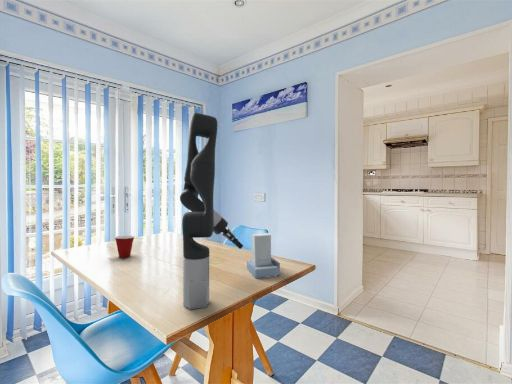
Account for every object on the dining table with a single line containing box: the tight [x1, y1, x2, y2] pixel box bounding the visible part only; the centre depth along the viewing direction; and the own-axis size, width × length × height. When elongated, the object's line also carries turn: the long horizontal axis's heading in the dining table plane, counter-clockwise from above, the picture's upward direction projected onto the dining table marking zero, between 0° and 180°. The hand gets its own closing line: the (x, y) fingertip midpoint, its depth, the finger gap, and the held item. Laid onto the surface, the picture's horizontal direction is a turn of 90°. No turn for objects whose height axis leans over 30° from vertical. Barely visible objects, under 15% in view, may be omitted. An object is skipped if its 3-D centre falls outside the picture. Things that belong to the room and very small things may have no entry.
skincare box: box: [251, 232, 272, 266], centre depth 129 cm, size 8×6×15 cm
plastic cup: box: [114, 234, 136, 259], centre depth 154 cm, size 11×11×12 cm
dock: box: [246, 256, 281, 279], centre depth 129 cm, size 14×12×6 cm
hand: (239, 245), depth 125 cm, fingers open, 8 cm apart
